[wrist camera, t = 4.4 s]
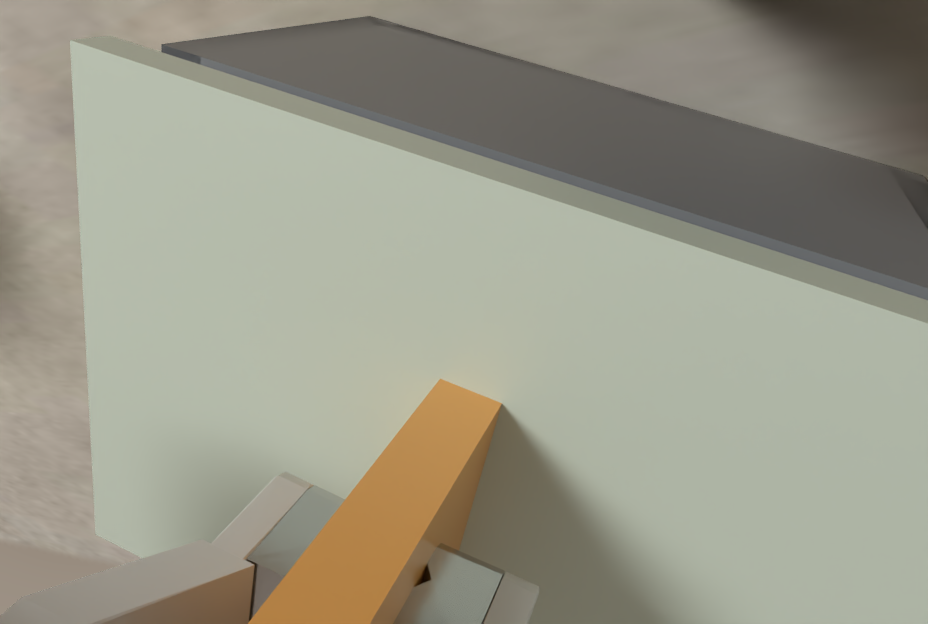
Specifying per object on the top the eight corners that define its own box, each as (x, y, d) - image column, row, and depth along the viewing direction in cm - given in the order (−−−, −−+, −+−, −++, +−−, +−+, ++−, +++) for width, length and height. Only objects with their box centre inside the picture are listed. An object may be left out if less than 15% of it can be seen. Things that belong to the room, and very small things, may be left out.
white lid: (1122, 364, 9) (1610, 908, 4) (761, 825, 14) (759, 1313, 9) (110, 35, 12) (-372, 88, 7) (123, 511, 17) (-147, 741, 12)
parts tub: (923, 175, 17) (1037, 323, 10) (748, 498, 21) (744, 746, 15) (369, 15, 20) (161, 44, 13) (326, 332, 24) (158, 475, 18)
